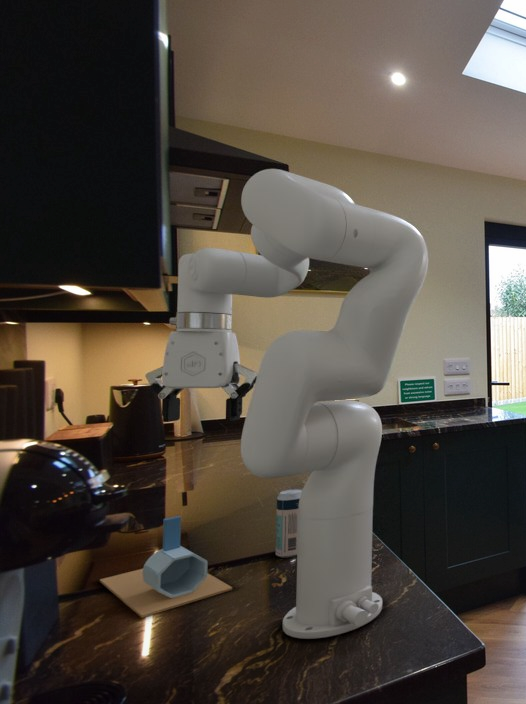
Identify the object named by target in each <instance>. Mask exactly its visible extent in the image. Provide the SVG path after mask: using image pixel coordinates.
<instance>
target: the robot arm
mask: <svg viewBox="0 0 526 704" xmlns="http://www.w3.org/2000/svg"><path fill="white" fill-rule="evenodd" d="M240 204H241V208H242V212H243V214H244V217H245V218H246V219H247V220H248V222H249V223H251V224H252V225H251V229H250V239H251V242H252V244H253V246H254V248H255V249H256V251H257V252H258V253H259V254H257V253H250V252H243V251H239V250H237V251H236V250H229V249H223V248H217V247H204V248H200V249H198V250H197V251H195V252H193V253H185V254H183V255H182V256H181V257H180V258H179V259H178V266H177V267H178V268H177V269H178V270H177V271H178V272H177V274H178V275H177V307H176V310H177V311H176V315H175V317H170V318H169V324H170V325H171V326H175V329H176V330H175V331H170V333H169V336H168V339H167V343H166V346H165V350H164V356H163V364H162V366H160V367H158V368H156V369H153V370H152V371H149V372H147V373H146V374H145V378H146V380H147V382H148V383H149V385H150V389H151V390H152V391H153V392H154V393H155V394H157V397H158V399H159V400H161V416H162V422H163V423H171V422H176V421H179V420H180V419H181V398H180V397H177V396H178V395H180V393H181V392H182V391H183V390H184V389H219V388H221V389H222V390H223V391H224V392H225V393H226V394H227V396H229V397H228V398H226V399H225V421H227V422H234V421H237V420H238V421H239V420H240V419H241V416H242V414H243V398H245V397H246V396H247V394H249V392H250V391H252V394H251V398H250V402H249V405H248V409H247V412H246V416H245V419H244V423H243V427H242V433H241V437H240V456H241V460H242V463H243V464H244V467H245V469H246V470H247V471H248V472H249V473H251V475H253V476H255V477H257V478H261V479H278V478H286V477H292V476H295V475H301V474H305V473H310V472H311V473H310V474H309V476H308V478H307V479H306V481H305V483H304V485H303V488H302V489H303V490H302V493H301V496H300V500H299V510H298V546H297V556H296V593H295V594H296V597H295V606H294V607H293V608H292V609H290V610H289V611H288V612H287V613H286V614H285V615H284V617H283V618H282V631H283V632H284V634H285V635H287V636H288V637H289V636H290V637H292V638H295V639H303V640H315V639H322V638H329V637H335V636H339V635H343V634H345V633H348V632H351V631H354V630H356V629H359V628H360V627H361V628H362V627H363V626H365V625H367V624H368V623H370V622H372V621H373V620H374V619H376V618H377V617H378V616H379V615H380V613H381V611H382V609H383V598H382V596H381V595H380V594H378V593H376V592H373V586H372V575H373V574H372V572H373V571H372V568H373V566H372V565H373V563H372V562H373V518H374V517H373V516H374V512H373V511H374V489H375V488H374V487H375V475H376V474H375V473H376V466H377V461H378V456H379V451H380V447H381V442H382V438H383V437H382V435H383V424H382V420H381V417H380V415H379V413H378V412H377V411H376V409H375V408H374V407H372V406H371V405H370V404H367V403H365V402H362V401H359V400H355V399H363V398H369V397H372V396H375V395H377V394H379V393H380V392H381V391H382V390H383V389H384V387H385V386H386V384H387V382H388V379H389V377H390V374H391V371H392V369H393V366H394V362H395V359H396V356H397V353H398V349H399V346H400V343H401V340H402V337H403V333H404V330H405V327H406V323H407V320H408V317H409V314H410V311H411V310H412V308H413V305H414V303H415V301H416V299H417V298H418V295H419V294H420V291H421V289H422V287H423V285H424V282H425V280H426V276H427V273H428V270H429V269H428V268H429V251H428V247H427V243H426V241H425V238H424V237H423V235H422V234H421V232H420V230H418V228H416V226H414V225H413V224H412V223H409V222H408V221H407V220H406V219H405V220H404V219H403V218H401V217H398V216H396V215H393V214H391V213H389V212H385V211H382V210H378V209H374V208H371V207H368V206H363V205H359V204H356V203H355V201H354V200H353V199H352V198H351V197H350V196H349V195H348V194H347V193H346V192H344V191H343V190H341V188H338V187H336V186H333V185H331V184H328V183H325V182H322V181H319V180H315V179H312V178H310V177H305V176H303V175H299V174H296V173H293V172H291V171H290V172H289V171H287V170H283V169H278V168H266V169H263V170H260V171H258V172H256V173H254V174H253V175H252V176H251V177H250V178H249V179H248V180H247V181H246V183H245V185H244V186H243V189H242V192H241V198H240ZM310 259H312V260H317V261H321V262H322V261H323V262H329V263H335V264H338V265H339V264H341V265H346V266H351V267H358V268H364V269H368V270H369V274H367V275H366V276H364V277H363V278H361V279H360V280H359V281H358V282H357V283H356V284H355V285H354V286H353V287H352V288H351V289H350V290H349V291H348V292H347V294H346V295H345V297H344V298H343V300H342V302H341V305H340V310H339V313H338V316H337V319H336V322H335V324H334V326H333V327H332V328H331V329H330V330H327V331H325V330H304V329H303V330H302V329H301V330H293V331H289V332H286V333H283V334H282V335H280V336H278V337H277V338H276V339H274V340H273V341H272V342H271V343H270V345H269V346H268V348H267V349H266V350H265V352H264V354H263V357H262V359H261V362H260V364H259V367H258V372H257V371H255V370H252V369H251V368H248V367H247V366H245V365H242V364H241V357H240V349H239V342H238V339H237V335H236V333H235V332H233V331H232V327H233V295H237V296H246V297H247V296H248V297H254V298H255V297H256V298H266V299H267V298H268V299H269V298H276V297H280V296H283V295H285V294H288V293H289V292H291V291H293V290H295V289H296V288H298V287H299V286H300V285H301V284H302V283H303V282H304V281H305V278H306V277H307V275H308V272H309V268H310ZM241 376H243V377H244V378H245V379H244V382H243V383H242V384H241V385H239V383H240V379H241ZM252 389H253V390H252Z"/></svg>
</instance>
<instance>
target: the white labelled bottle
mask: <svg viewBox="0 0 526 704" xmlns="http://www.w3.org/2000/svg"><path fill="white" fill-rule="evenodd" d="M302 490H303V488H292V489H286V490H282V491H280V492H279V493H278V495H277V497H276V515H275V517H276V520H275V555H276V556H277V557H280V558H282V559H283V558H284V559H285V558H287V559H288V558H293V557H297V546H298V510H299V500H300V496H301V493H302Z"/></svg>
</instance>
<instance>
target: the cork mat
mask: <svg viewBox="0 0 526 704" xmlns="http://www.w3.org/2000/svg"><path fill="white" fill-rule="evenodd" d="M99 583H101V584H102V585H103V586H104V587H105V588H106V589H107V590H109V591H110V592H111V593H112V594H113V595H114V596H115V597H117V599H119V600H120V601H121V602H122V603H123V604H125V605H126V606H127V607H129V609H131V610H132V611H133V612H134V613H136V615H138V616H139V617H140V618H141V619H143V618H147V617H149V616H152V615H155V614H159V613H162V612H165V611H168V610H173V609H175V608H178V607H181V606H185V605H189V604H191V603H194V602H198V601H201V600H205V599H207V598H211V597H213V596H217V595H221V594H224V593H226V592H229V591H232V590H233V587H232V586H231V585H229V584H228V583H226V582H224V581H222V580H221V579H218V578H217V577H215V576H214V575H212V574H210V573H209V572H207V578H206V579H205V580H204V581H203V582H202V583H201V584H200V585H199V586H198V587H197V588H196V590H195V591H194V592H192V593H189V594H186V595H183V596H179V597H176V598H170V597H168V596H165V595H163V594H161V593H159V592H157V591H156V590H155V589H153V588H152V587H151V586H149V585H148V584H147V583H145V582H144V581H143V568H139V569H136V570H132V571H128V572H124V573H120V574H117V575H112V576H108V577H103V578H100V579H99Z"/></svg>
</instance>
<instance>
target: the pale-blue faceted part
mask: <svg viewBox="0 0 526 704" xmlns="http://www.w3.org/2000/svg"><path fill="white" fill-rule="evenodd" d="M162 522H163V523H162V548H161V549H159V550H157V551H156V552H154V553H153V554H152V555H151V556H150V557H148V559H147V560H146V561H145V563H144V565H143V568H142V569H143V581H144V582H145V583H147V584H148V585H149V586H151V587H152V588H153V589H155V590H156V591H157V592H159V593H161V594H163V595H165V596H168V597H170V598H176V597H179V596H183V595H186V594H189V593H192V592H194V591H195V590H196V588H197V587H198V586H199V585H200V584H201V583H202V582H203V581H204V580H205V579H206V578H207V573H208V564H209V563H208V560H207V559H205V558H203V557H202V556H199V555H198V554H196V553H194V552H192V551H190V550H189V549H188V548H185V547H184V546H181V533H182V532H181V531H182V517H181V516H179V515H176V516H173V517H167V518H163V520H162Z"/></svg>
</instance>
